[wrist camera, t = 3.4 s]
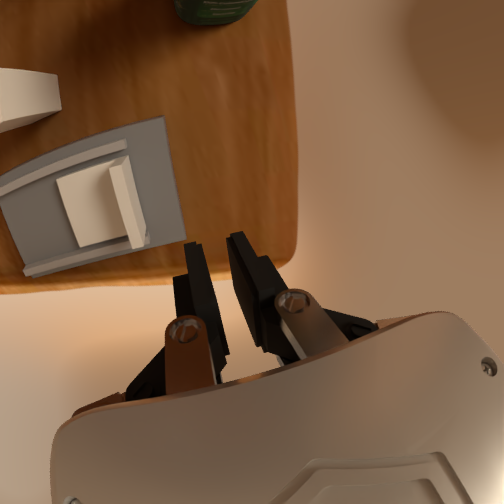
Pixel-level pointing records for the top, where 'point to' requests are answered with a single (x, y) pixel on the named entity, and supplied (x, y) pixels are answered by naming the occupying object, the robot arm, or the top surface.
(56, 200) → the socket block
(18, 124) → the plug
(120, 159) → the shutter
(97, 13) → the top surface
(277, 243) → the top surface
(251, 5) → the coffee jar
